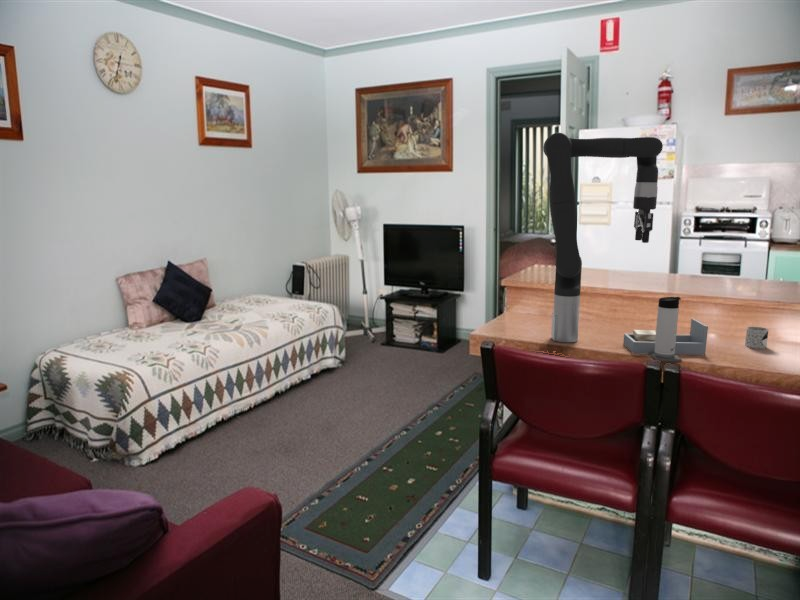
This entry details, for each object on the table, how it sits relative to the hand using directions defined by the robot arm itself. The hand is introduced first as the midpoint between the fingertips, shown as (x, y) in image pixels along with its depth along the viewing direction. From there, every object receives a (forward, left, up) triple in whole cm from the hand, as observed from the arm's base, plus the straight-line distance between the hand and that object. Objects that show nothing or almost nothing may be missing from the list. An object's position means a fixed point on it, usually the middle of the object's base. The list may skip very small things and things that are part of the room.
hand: (641, 241), depth 217 cm
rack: (+7, -10, -37) cm, 39 cm away
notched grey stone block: (+42, -2, -37) cm, 56 cm away
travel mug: (+4, -21, -36) cm, 42 cm away
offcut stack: (+1, -9, -37) cm, 38 cm away
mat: (+4, -21, -37) cm, 43 cm away
